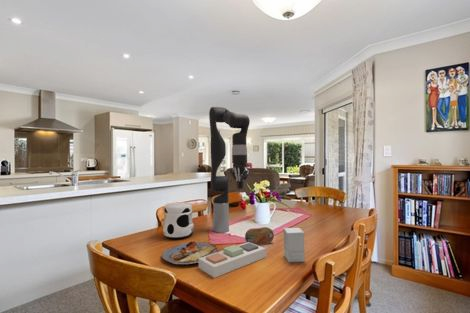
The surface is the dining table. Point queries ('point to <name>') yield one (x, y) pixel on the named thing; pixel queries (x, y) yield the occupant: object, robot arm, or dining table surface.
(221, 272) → the key board
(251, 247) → the charcoal key
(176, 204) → the milk container
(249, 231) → the brown rounded lump
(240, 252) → the sage key
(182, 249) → the food plate
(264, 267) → the dining table surface
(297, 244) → the supplement box
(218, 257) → the terracotta key
